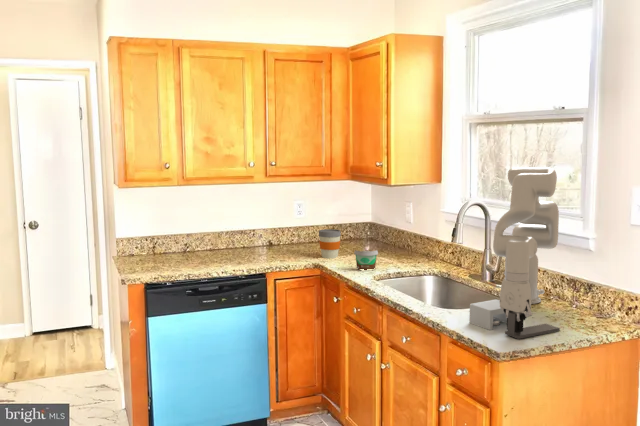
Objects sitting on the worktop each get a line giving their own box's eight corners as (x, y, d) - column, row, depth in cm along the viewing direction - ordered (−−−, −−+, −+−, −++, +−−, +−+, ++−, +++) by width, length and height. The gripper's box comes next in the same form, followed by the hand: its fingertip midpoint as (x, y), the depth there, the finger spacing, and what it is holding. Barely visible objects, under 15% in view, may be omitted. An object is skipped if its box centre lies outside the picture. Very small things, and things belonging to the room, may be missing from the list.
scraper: (517, 339, 206) (518, 315, 205) (503, 334, 211) (504, 311, 210) (559, 330, 216) (560, 308, 215) (545, 326, 221) (546, 304, 220)
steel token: (492, 321, 228) (492, 316, 228) (502, 325, 224) (503, 319, 224) (482, 323, 226) (482, 318, 226) (492, 327, 222) (492, 321, 221)
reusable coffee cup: (322, 259, 345) (322, 232, 343) (316, 255, 357) (316, 229, 356) (343, 258, 349) (343, 231, 347) (337, 254, 361) (337, 228, 359)
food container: (355, 271, 314) (355, 251, 313) (354, 269, 320) (354, 249, 319) (379, 271, 315) (379, 251, 313) (377, 268, 321) (378, 249, 320)
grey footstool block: (495, 317, 232) (496, 299, 232) (516, 324, 224) (516, 305, 223) (469, 322, 226) (469, 303, 225) (489, 330, 217) (490, 310, 217)
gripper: (490, 273, 212) (488, 326, 214) (528, 282, 198) (525, 339, 200) (506, 271, 216) (504, 322, 218) (544, 280, 202) (542, 335, 204)
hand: (514, 330), depth 209 cm, fingers closed on scraper, 2 cm apart
